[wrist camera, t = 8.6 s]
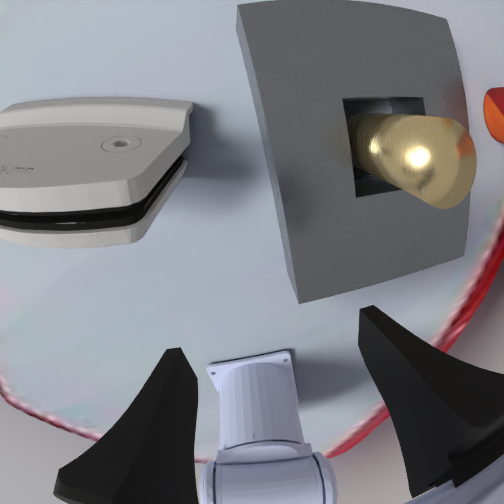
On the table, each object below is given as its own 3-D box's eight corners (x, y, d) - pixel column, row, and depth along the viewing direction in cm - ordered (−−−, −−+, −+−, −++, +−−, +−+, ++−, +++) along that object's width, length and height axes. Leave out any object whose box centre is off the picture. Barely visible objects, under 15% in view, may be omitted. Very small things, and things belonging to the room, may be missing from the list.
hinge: (199, 103, 15) (149, 181, 8) (191, 166, 19) (152, 275, 12) (9, 105, 13) (-76, 171, 6) (16, 153, 16) (-55, 228, 9)
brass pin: (389, 165, 18) (474, 203, 10) (341, 171, 18) (414, 215, 10) (384, 112, 16) (474, 119, 8) (333, 115, 16) (410, 117, 8)
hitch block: (436, 235, 21) (463, 255, 17) (287, 273, 21) (298, 304, 17) (415, 29, 13) (446, 19, 9) (236, 28, 13) (237, 5, 10)
